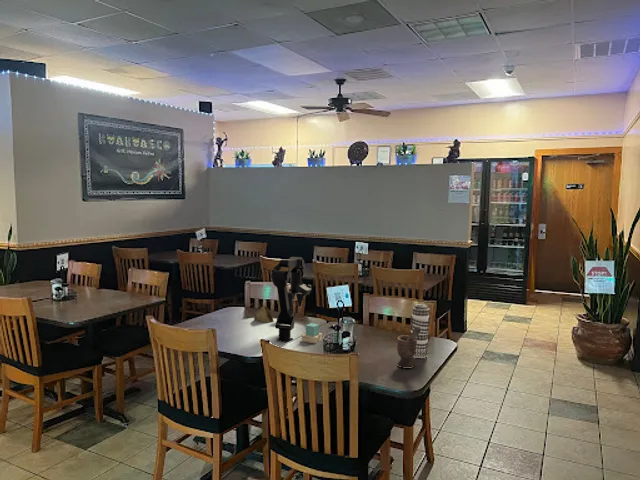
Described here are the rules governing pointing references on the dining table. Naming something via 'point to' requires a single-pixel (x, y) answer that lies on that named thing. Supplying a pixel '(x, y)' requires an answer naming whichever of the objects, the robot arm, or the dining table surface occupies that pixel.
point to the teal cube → (312, 329)
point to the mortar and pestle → (407, 348)
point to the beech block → (311, 338)
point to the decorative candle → (421, 321)
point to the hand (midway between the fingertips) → (295, 308)
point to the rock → (263, 315)
